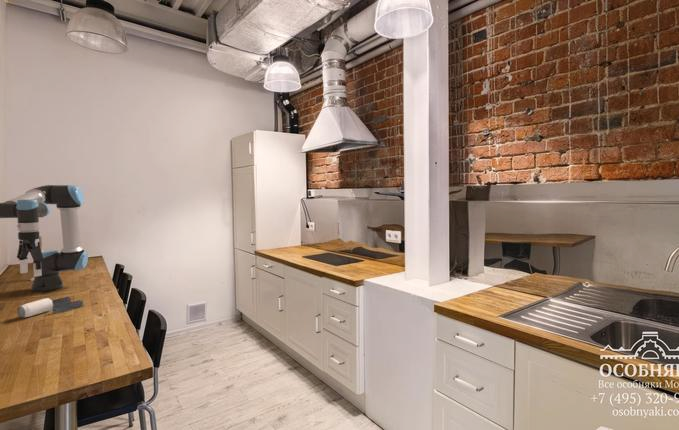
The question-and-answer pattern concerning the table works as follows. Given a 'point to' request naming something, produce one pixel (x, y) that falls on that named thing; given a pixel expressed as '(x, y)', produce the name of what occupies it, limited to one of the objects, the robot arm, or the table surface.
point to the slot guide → (65, 305)
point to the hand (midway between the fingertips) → (30, 274)
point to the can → (35, 308)
